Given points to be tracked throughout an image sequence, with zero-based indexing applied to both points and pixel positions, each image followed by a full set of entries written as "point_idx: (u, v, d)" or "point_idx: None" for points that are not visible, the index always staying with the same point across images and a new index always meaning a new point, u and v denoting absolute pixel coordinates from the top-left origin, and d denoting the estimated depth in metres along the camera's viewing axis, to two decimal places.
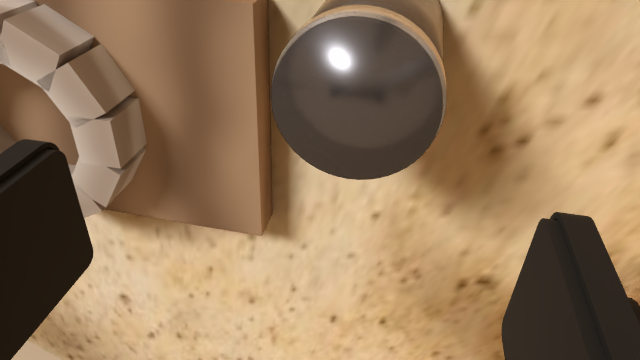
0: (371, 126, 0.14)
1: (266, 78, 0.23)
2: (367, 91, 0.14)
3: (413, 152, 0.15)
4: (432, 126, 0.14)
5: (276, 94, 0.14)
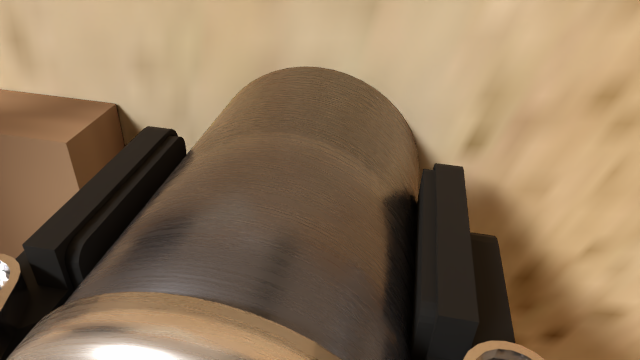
0: None
1: None
2: None
3: None
4: None
5: None
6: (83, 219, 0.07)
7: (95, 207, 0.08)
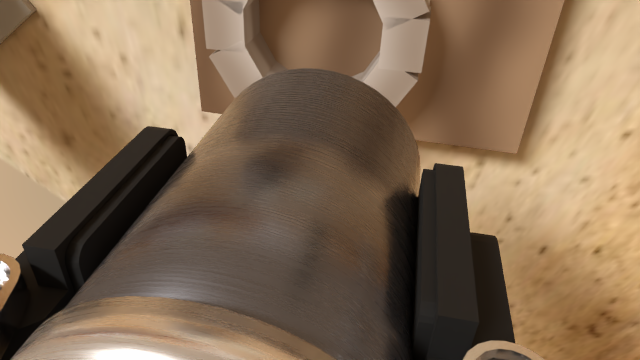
0: None
1: None
2: None
3: None
4: None
5: None
6: (84, 218, 0.07)
7: (95, 207, 0.08)
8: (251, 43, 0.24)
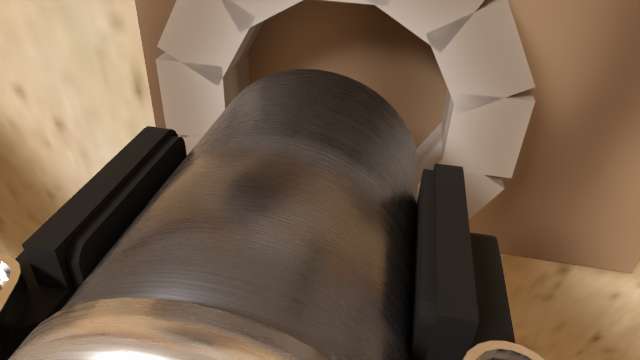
0: None
1: None
2: None
3: None
4: None
5: None
6: (84, 219, 0.07)
7: (95, 207, 0.08)
8: None
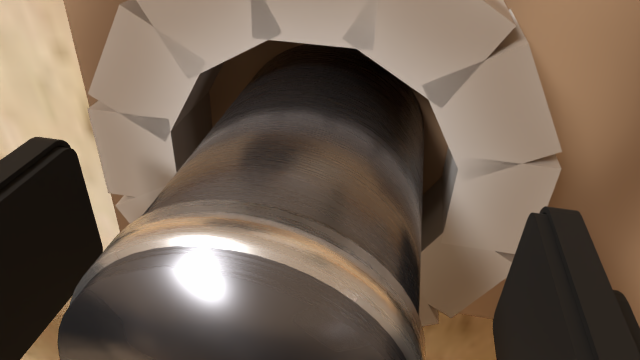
0: None
1: None
2: None
3: None
4: None
5: None
6: None
7: None
8: None
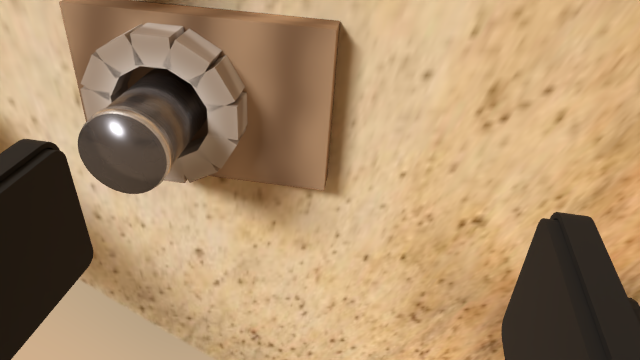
0: (131, 166, 0.28)
1: (334, 77, 0.33)
2: (125, 149, 0.27)
3: (155, 179, 0.28)
4: (160, 166, 0.28)
5: (81, 150, 0.28)
6: None
7: None
8: None
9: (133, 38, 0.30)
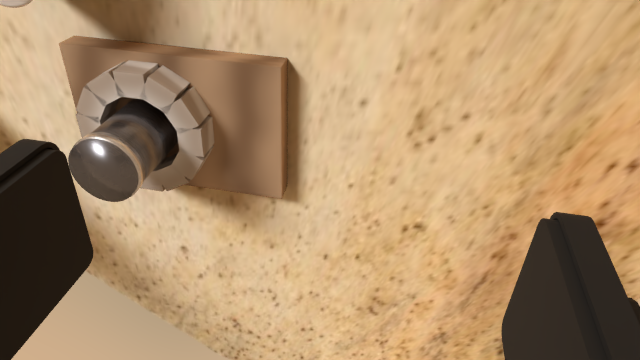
0: (110, 180, 0.35)
1: (285, 104, 0.39)
2: (105, 166, 0.34)
3: (130, 190, 0.35)
4: (133, 180, 0.34)
5: (71, 166, 0.35)
6: None
7: None
8: None
9: (115, 75, 0.36)
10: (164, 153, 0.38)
